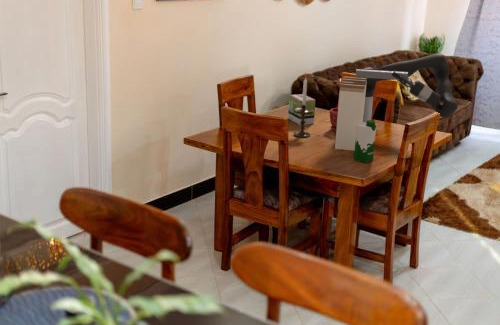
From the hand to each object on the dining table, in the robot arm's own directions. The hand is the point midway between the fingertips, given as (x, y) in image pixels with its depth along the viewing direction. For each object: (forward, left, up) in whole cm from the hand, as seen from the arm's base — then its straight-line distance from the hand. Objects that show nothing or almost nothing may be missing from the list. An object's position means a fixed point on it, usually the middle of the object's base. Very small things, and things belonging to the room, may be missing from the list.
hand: (392, 72), depth 347 cm
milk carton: (+16, -25, -39) cm, 49 cm away
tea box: (-57, -19, -39) cm, 72 cm away
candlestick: (-31, -33, -39) cm, 60 cm away
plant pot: (-33, -7, -39) cm, 52 cm away
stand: (-10, -16, -39) cm, 44 cm away
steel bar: (-3, -4, -3) cm, 6 cm away
